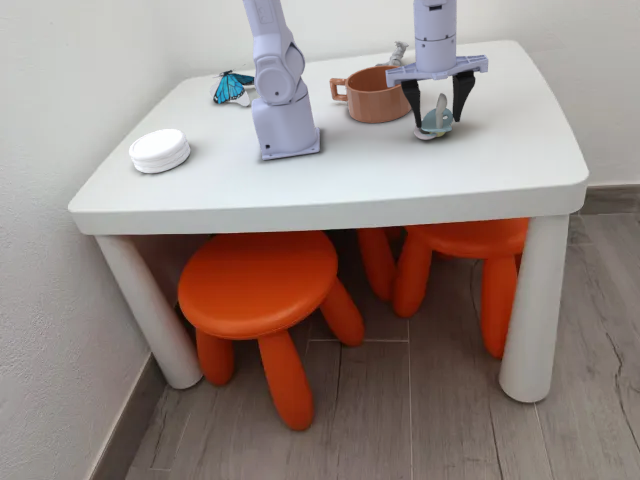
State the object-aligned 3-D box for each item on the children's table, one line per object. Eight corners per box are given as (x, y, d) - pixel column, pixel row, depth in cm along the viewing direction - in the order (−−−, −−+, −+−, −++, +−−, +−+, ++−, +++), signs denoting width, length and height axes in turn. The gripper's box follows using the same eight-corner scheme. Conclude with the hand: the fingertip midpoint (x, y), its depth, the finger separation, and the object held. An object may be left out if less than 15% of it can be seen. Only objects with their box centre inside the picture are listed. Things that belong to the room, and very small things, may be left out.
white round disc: (186, 139, 94) (180, 122, 92) (195, 162, 86) (188, 144, 84) (133, 156, 92) (126, 139, 90) (137, 181, 84) (129, 163, 82)
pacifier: (411, 144, 78) (451, 142, 76) (408, 107, 74) (450, 104, 73) (416, 122, 84) (454, 119, 82) (413, 86, 80) (452, 82, 78)
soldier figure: (365, 86, 101) (376, 46, 107) (385, 99, 103) (395, 58, 108) (388, 62, 95) (398, 21, 100) (409, 76, 96) (418, 35, 102)
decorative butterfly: (218, 68, 109) (255, 54, 104) (232, 95, 112) (269, 83, 107) (195, 88, 102) (234, 74, 97) (211, 116, 105) (250, 105, 100)
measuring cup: (422, 96, 91) (420, 66, 88) (397, 125, 84) (394, 94, 81) (347, 90, 99) (343, 63, 95) (318, 117, 92) (313, 88, 88)
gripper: (386, 52, 68) (393, 141, 77) (495, 34, 67) (490, 127, 75) (381, 35, 74) (388, 120, 82) (482, 18, 72) (479, 106, 81)
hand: (437, 122), depth 79 cm, fingers closed on pacifier, 5 cm apart
